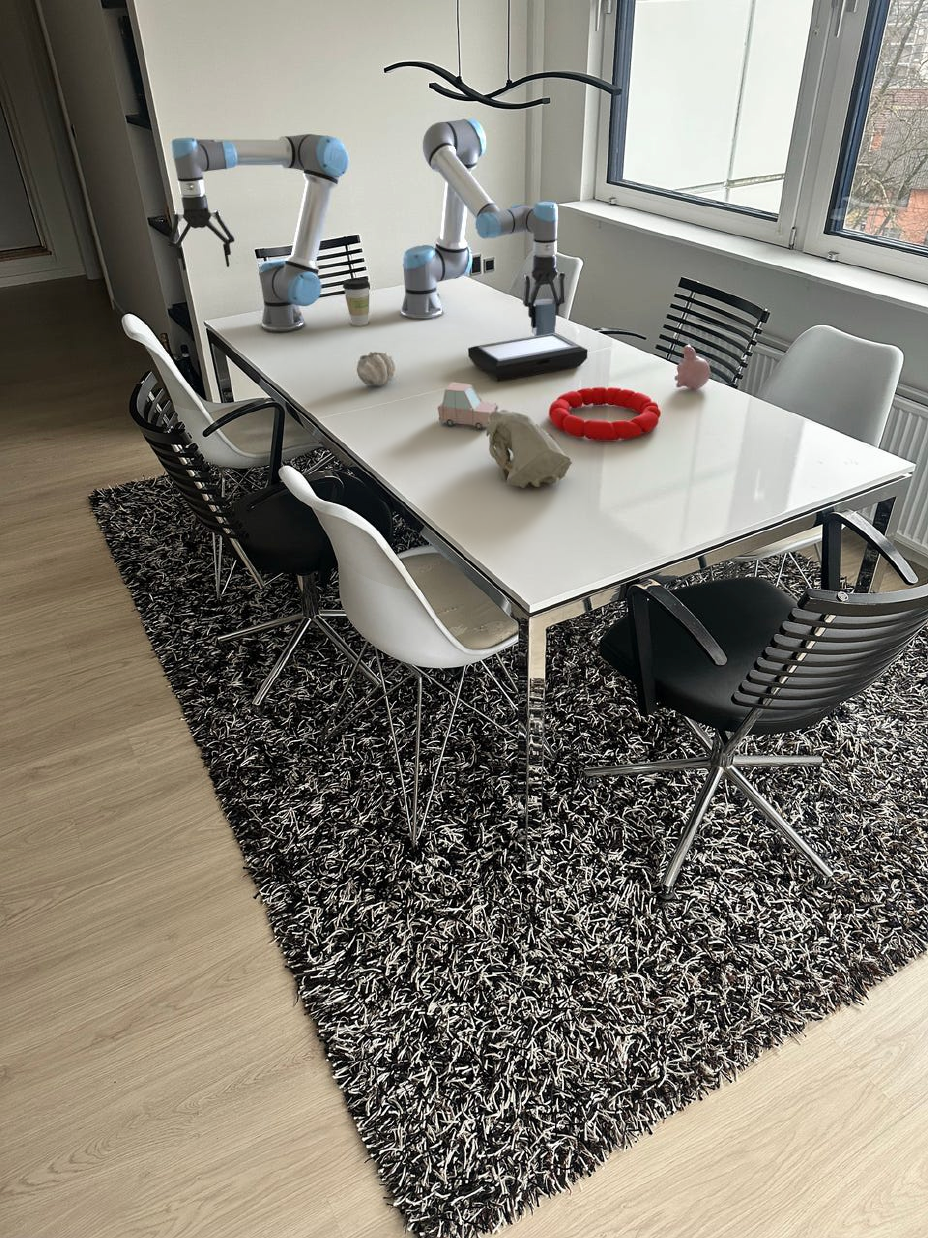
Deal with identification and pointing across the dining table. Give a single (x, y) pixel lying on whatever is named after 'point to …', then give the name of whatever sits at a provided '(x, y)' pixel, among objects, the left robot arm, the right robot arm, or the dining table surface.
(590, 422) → the decorative ring
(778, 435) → the dining table surface
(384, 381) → the seashell
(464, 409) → the toy car
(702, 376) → the figurine
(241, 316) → the dining table surface
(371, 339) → the dining table surface
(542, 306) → the block
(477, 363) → the electronic device
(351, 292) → the coffee cup
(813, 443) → the dining table surface
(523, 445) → the animal skull
